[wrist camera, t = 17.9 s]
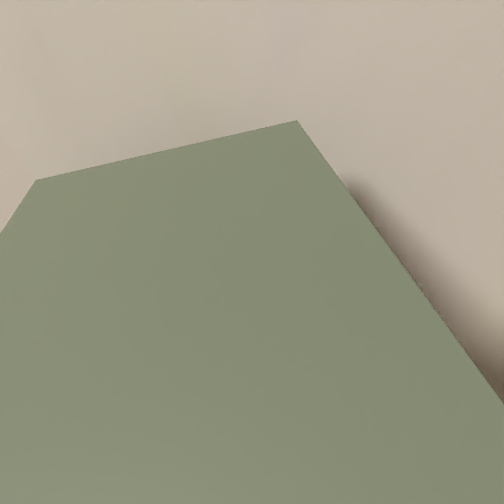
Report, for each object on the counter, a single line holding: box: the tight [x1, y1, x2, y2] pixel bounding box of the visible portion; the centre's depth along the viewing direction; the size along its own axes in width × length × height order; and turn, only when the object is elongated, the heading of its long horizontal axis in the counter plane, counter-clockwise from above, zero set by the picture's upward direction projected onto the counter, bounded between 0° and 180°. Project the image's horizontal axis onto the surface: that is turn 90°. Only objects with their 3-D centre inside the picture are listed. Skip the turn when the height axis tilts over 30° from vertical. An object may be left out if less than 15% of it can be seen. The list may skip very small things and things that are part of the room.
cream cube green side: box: [0, 120, 504, 504], centre depth 7 cm, size 7×7×10 cm
